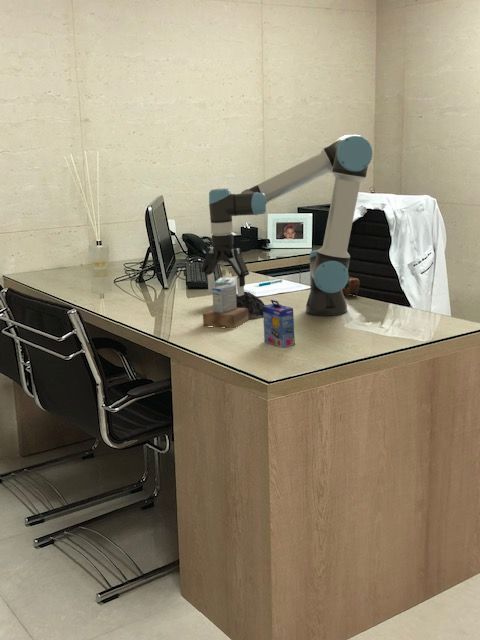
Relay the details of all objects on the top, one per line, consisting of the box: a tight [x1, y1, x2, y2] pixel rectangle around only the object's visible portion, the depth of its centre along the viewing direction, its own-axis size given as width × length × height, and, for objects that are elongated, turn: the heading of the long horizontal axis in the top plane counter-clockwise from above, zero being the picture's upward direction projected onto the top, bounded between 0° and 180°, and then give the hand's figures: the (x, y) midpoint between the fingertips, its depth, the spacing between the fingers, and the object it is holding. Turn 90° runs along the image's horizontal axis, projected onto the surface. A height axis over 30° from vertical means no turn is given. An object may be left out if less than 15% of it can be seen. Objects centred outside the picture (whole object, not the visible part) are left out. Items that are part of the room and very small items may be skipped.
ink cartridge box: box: [262, 299, 296, 349], centre depth 254 cm, size 10×6×14 cm, turn 35°
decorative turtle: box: [342, 275, 361, 298], centre depth 322 cm, size 10×15×8 cm, turn 36°
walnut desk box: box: [202, 308, 249, 329], centre depth 283 cm, size 12×12×5 cm
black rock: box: [236, 290, 266, 320], centre depth 295 cm, size 13×14×10 cm
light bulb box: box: [215, 277, 237, 294], centre depth 309 cm, size 11×7×11 cm, turn 168°
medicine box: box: [212, 285, 237, 313], centre depth 282 cm, size 8×4×9 cm, turn 139°
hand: (226, 293), depth 281 cm, fingers open, 13 cm apart
